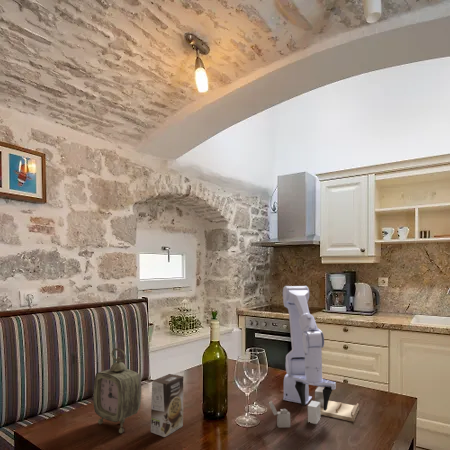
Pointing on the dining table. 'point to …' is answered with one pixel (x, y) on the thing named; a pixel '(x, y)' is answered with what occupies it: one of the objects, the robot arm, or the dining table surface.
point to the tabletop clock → (117, 392)
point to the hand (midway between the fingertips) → (314, 407)
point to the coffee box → (167, 404)
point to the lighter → (281, 416)
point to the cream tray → (336, 407)
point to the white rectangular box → (314, 412)
